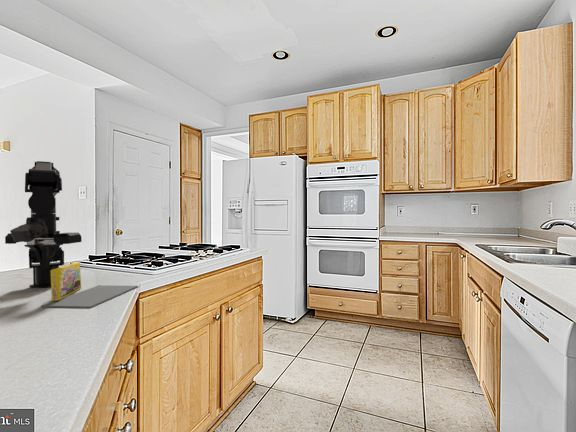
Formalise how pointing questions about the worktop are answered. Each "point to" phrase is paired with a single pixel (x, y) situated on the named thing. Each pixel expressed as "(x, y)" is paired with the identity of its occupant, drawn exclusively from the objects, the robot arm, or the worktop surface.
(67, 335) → the worktop surface
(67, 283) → the candy box
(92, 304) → the mat
